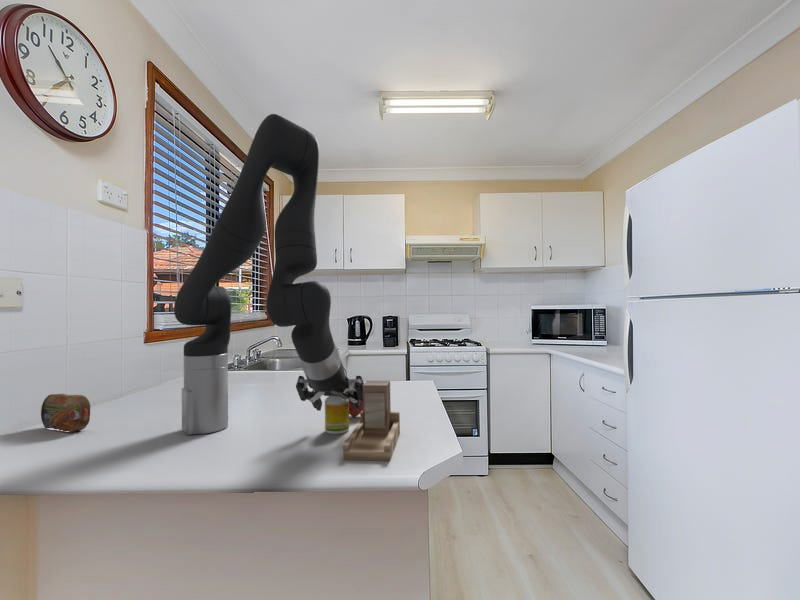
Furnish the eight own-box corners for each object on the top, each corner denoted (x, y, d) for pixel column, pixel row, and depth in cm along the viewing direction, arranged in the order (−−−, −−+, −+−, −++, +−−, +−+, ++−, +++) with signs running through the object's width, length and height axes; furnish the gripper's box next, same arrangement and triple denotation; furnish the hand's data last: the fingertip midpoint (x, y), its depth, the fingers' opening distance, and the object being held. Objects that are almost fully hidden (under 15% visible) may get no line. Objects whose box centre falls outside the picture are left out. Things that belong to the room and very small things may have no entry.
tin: (39, 428, 93) (39, 393, 93) (54, 425, 96) (55, 390, 96) (78, 435, 88) (78, 397, 88) (93, 431, 90) (93, 394, 91)
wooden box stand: (390, 460, 69) (388, 395, 70) (343, 459, 70) (342, 395, 71) (399, 432, 85) (398, 379, 85) (361, 431, 86) (360, 379, 86)
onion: (368, 414, 101) (367, 383, 101) (363, 420, 95) (363, 387, 95) (346, 413, 101) (345, 383, 102) (340, 420, 96) (340, 387, 96)
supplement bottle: (322, 429, 88) (321, 387, 89) (345, 426, 91) (344, 384, 91) (328, 436, 84) (328, 391, 84) (352, 432, 86) (351, 388, 86)
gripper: (359, 348, 79) (371, 393, 90) (292, 348, 81) (311, 392, 92) (354, 379, 74) (367, 422, 85) (281, 379, 75) (303, 422, 86)
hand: (338, 407), depth 88 cm, fingers open, 8 cm apart
